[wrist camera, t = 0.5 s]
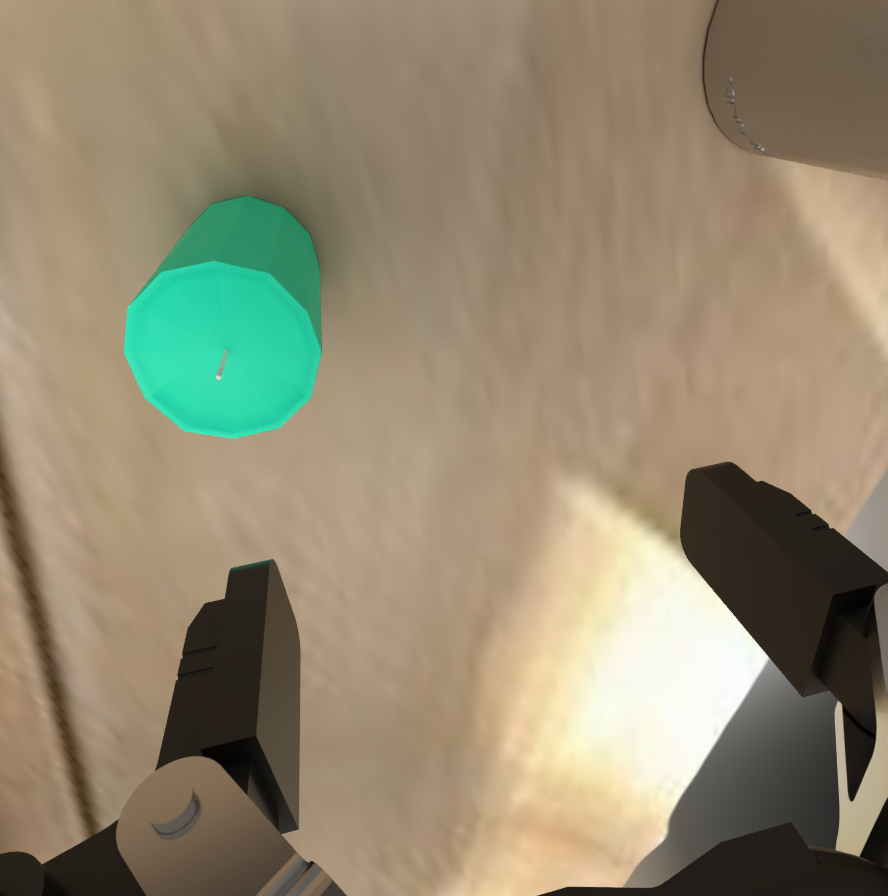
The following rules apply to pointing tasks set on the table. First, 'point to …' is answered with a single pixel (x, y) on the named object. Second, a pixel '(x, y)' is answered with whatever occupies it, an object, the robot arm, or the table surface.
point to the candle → (230, 322)
